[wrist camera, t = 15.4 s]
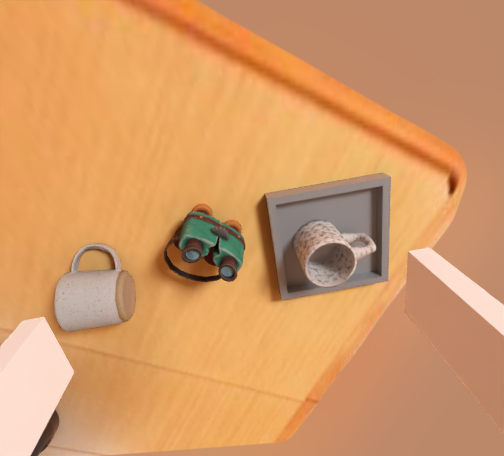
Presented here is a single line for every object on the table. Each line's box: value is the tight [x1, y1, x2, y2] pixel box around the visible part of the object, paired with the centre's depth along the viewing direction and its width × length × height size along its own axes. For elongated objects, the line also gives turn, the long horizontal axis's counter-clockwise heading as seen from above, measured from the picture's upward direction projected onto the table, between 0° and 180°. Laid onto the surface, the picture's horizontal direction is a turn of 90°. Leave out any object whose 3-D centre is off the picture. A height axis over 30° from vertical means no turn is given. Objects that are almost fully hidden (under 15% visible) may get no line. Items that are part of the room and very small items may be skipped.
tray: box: [265, 173, 391, 300], centre depth 44 cm, size 16×16×2 cm
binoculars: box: [164, 204, 245, 282], centre depth 40 cm, size 9×11×10 cm
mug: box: [293, 220, 376, 288], centre depth 42 cm, size 10×7×7 cm, turn 102°
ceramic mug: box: [54, 244, 136, 332], centre depth 42 cm, size 11×8×8 cm
